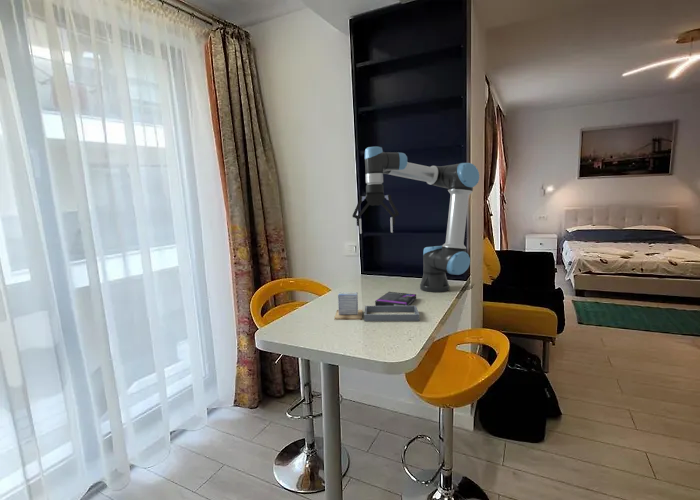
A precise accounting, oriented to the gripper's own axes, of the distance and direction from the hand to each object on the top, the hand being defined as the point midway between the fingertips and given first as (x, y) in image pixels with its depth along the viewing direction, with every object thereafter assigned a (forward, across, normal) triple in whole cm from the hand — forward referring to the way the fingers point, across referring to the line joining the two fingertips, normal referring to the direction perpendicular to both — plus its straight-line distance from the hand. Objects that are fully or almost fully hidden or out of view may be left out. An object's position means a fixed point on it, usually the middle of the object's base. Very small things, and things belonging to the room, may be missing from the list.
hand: (376, 233), depth 160 cm
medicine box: (+32, +13, +13) cm, 37 cm away
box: (+34, -8, -6) cm, 36 cm away
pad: (+33, +12, +13) cm, 38 cm away
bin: (+33, -5, +14) cm, 37 cm away
